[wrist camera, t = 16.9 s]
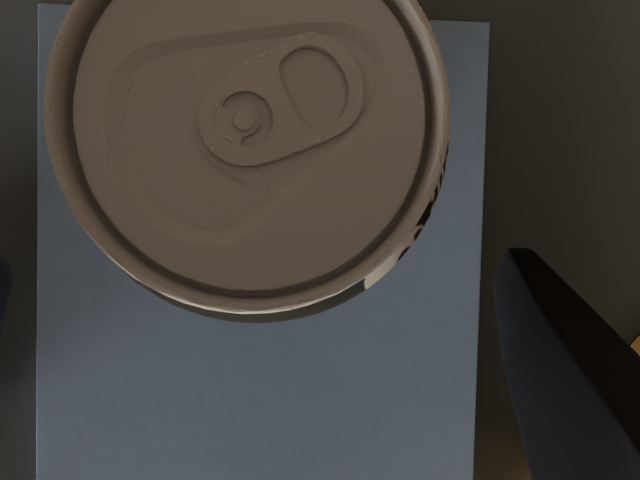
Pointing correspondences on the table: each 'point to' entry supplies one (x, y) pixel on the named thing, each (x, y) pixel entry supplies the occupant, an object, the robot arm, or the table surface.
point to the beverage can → (249, 145)
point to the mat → (268, 344)
